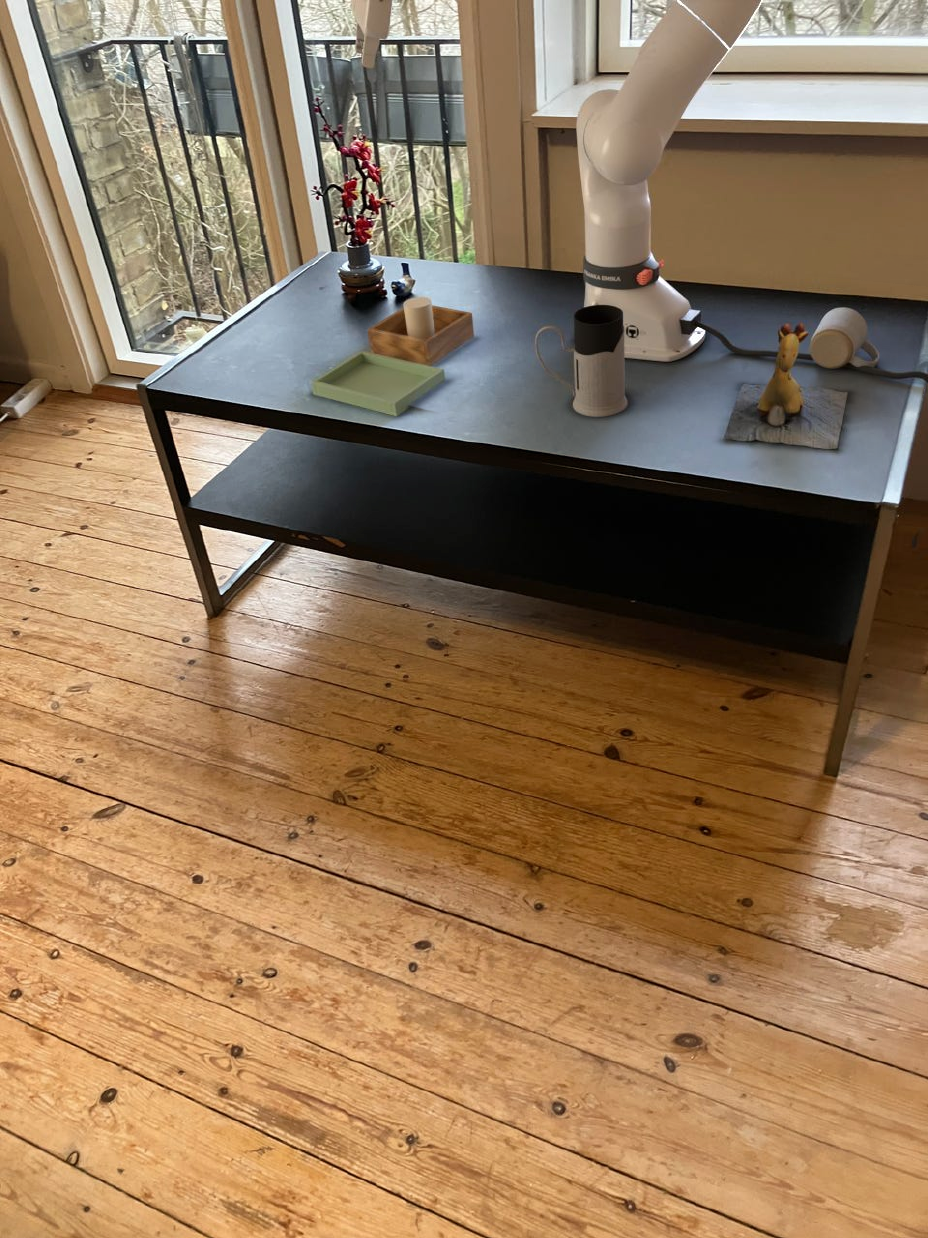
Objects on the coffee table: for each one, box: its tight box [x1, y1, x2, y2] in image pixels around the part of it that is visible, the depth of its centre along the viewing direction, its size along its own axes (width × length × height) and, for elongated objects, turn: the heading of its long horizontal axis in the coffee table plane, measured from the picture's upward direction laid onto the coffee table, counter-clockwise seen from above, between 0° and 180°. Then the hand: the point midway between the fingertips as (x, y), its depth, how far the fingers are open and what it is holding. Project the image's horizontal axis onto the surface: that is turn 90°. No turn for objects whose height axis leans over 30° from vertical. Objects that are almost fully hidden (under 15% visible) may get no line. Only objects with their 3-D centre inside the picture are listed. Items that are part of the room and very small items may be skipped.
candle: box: [402, 296, 435, 340], centre depth 188 cm, size 5×5×8 cm
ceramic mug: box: [809, 307, 881, 370], centre depth 168 cm, size 11×8×8 cm
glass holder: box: [534, 305, 628, 418], centre depth 163 cm, size 9×14×15 cm, turn 89°
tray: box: [310, 350, 446, 417], centre depth 179 cm, size 19×14×2 cm
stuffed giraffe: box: [723, 322, 848, 450], centre depth 154 cm, size 16×18×16 cm
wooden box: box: [366, 305, 475, 367], centre depth 190 cm, size 14×14×5 cm
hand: (363, 59), depth 158 cm, fingers open, 8 cm apart
